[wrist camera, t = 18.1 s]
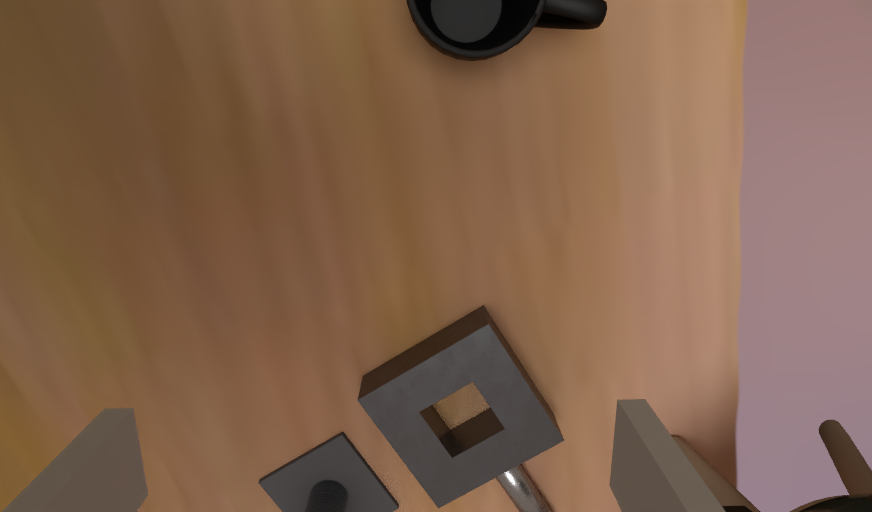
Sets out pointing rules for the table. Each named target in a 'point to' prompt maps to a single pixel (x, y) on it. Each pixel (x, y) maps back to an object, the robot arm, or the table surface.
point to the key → (327, 497)
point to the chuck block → (476, 438)
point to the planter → (863, 508)
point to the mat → (329, 462)
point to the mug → (496, 22)
